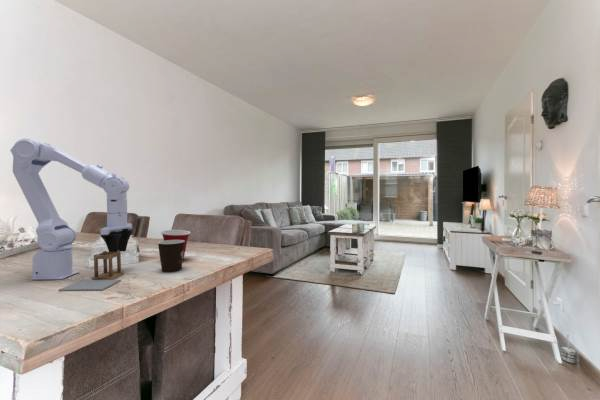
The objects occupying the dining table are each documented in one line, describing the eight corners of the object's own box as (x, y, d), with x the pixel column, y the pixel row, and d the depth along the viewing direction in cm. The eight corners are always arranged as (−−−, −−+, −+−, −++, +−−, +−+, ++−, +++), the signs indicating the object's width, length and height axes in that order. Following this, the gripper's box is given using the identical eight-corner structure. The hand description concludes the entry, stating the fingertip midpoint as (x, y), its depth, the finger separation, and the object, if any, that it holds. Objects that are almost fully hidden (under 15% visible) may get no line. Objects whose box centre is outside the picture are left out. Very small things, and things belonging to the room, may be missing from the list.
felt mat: (58, 291, 78) (58, 289, 78) (80, 281, 86) (80, 280, 86) (102, 290, 78) (102, 289, 78) (120, 280, 87) (120, 279, 87)
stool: (92, 280, 87) (91, 255, 86) (104, 274, 93) (103, 250, 92) (112, 280, 87) (111, 255, 87) (123, 274, 93) (122, 250, 93)
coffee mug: (174, 274, 94) (174, 244, 94) (152, 272, 96) (152, 243, 96) (194, 265, 106) (194, 238, 105) (174, 263, 107) (174, 238, 107)
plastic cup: (180, 264, 106) (180, 233, 106) (155, 263, 108) (154, 232, 108) (196, 258, 117) (195, 229, 117) (172, 256, 119) (172, 228, 118)
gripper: (116, 214, 88) (117, 257, 88) (140, 211, 102) (141, 248, 102) (93, 214, 87) (94, 257, 88) (120, 211, 102) (121, 248, 102)
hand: (117, 252), depth 95 cm, fingers open, 4 cm apart
